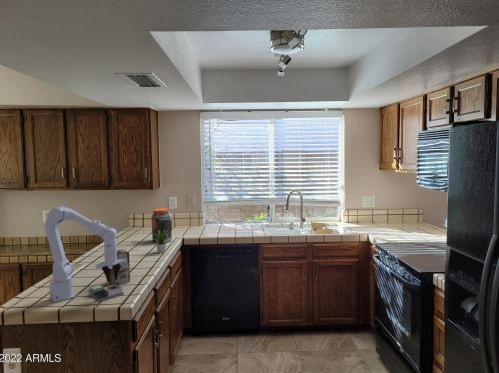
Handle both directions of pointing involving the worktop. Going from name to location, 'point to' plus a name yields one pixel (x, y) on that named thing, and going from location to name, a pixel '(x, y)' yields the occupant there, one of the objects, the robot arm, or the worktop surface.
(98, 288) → the on button
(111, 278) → the walnut stylus
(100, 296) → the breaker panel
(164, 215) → the jar with orange lid
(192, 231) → the worktop surface
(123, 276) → the coffee box
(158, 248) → the house plant
